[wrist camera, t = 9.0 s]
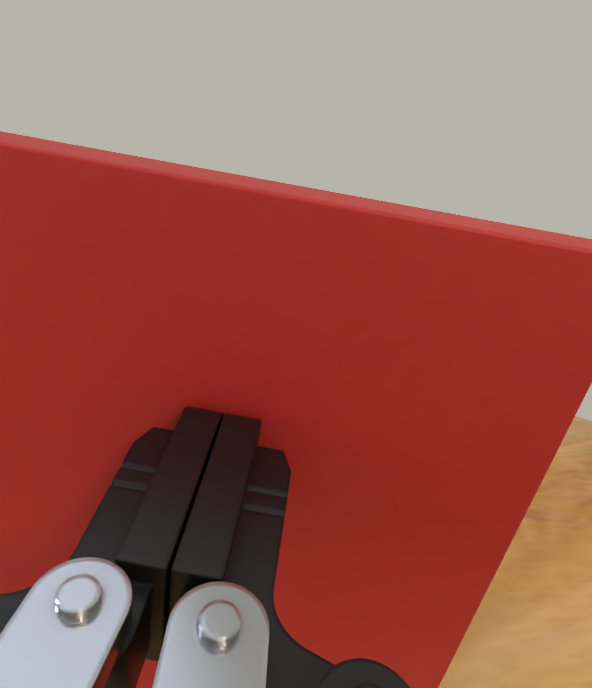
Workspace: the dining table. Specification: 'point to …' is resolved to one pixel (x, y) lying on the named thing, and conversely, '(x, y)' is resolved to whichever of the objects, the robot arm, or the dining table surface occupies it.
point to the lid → (289, 377)
